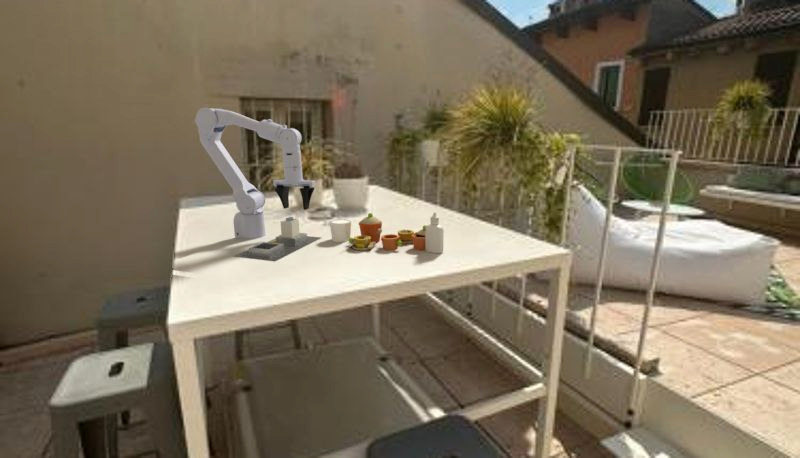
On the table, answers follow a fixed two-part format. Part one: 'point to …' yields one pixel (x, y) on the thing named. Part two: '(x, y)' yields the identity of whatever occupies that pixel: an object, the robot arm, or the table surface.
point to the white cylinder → (340, 230)
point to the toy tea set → (385, 236)
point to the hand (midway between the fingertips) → (296, 208)
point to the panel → (277, 247)
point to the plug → (290, 227)
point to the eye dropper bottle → (434, 236)
